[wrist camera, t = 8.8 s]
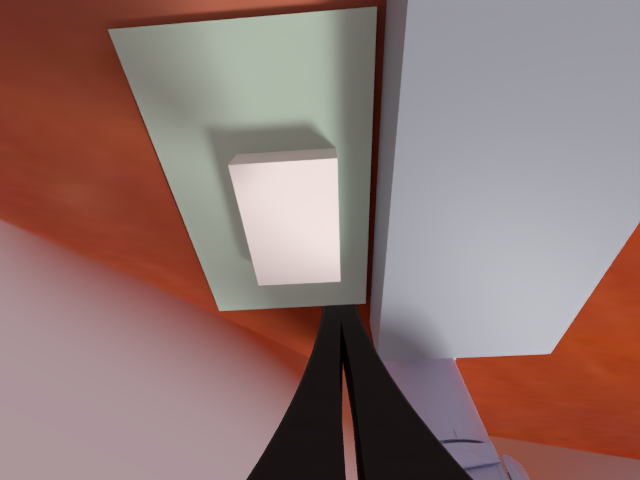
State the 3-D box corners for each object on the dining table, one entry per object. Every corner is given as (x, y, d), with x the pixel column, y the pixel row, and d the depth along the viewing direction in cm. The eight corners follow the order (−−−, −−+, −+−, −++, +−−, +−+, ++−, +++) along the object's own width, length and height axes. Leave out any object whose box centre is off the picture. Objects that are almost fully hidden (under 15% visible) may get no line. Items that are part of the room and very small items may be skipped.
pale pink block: (258, 285, 20) (262, 267, 22) (340, 281, 20) (338, 264, 22) (227, 165, 15) (236, 154, 17) (337, 158, 15) (335, 147, 17)
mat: (365, 300, 24) (365, 303, 24) (220, 307, 25) (219, 311, 24) (375, 7, 13) (377, 6, 13) (112, 30, 14) (107, 29, 13)
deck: (520, 315, 26) (550, 353, 22) (369, 322, 26) (377, 361, 23) (704, -50, 12) (849, -89, 9) (387, -22, 13) (412, -49, 9)
